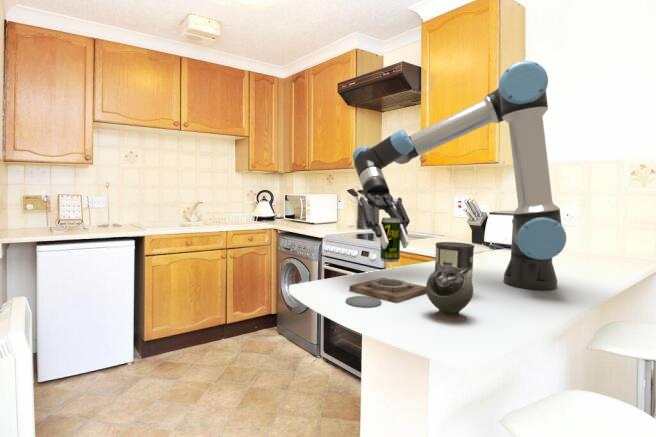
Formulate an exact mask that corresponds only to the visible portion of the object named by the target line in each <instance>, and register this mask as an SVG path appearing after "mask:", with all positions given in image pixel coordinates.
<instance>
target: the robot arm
mask: <svg viewBox="0 0 656 437" xmlns="http://www.w3.org/2000/svg"><path fill="white" fill-rule="evenodd" d="M548 77H549V76H548V73H547V71H546V69H545V68H544V67H543V66H542V65H541V64H539V63H538V62H535V61H531V60H522V61H518V62H515V63H513V64H511V65H510V66H509V67H507V69H506V70H505V71H504V72H503V73H502V75H501V76H500V78H499V80H498V88H496V89H495V90H493V91H492V92H490V93H488V94H486V95H485V96H484V98H483V100H481V101H479V102H477V103H474V104H472V105H471V106H469V107H467V108H464V109H462V110H460V111H458V112H456V113H454V114H452V115H449V116H447V117H446V118H443V119H441V120H440V121H436V122H435V123H433V124H431V125H428V126H427V127H425V128H422V129H421V130H418V131H417V132H414V133H412V134H411V135H408V133H407V132H406V131H405V129H400V130H398V131H396V132H393V133H392V134H391V135H389V136H388V137H386V138H385V139H383V140H382V141H380V142H379V143H377V144H376V145H374V146H372V147H371V146H369V145H364V146H363V145H362V146H359V147H358V148H356V149H355V150H354V151H353V154H352V159H353V160H352V161H353V166H354V168H355V171H356V174H357V176H358V179H359V182H360V185H361V188H362V192H363V195H364V197H363V196H360V197H359V200H358V202H357V205H358V206H359V207H360V209H361V214H362V216H363V220H364V223H365V227H366V228H368V229H369V228H371V231H372V232H374V234H375V237H376V238H379V240H380V245H381V244H382V247H383V249H386V247H387V245H388V243H389V242H388V239H387V236H386V233H385V231H384V228H383V225H382V224H381V223H380V210H382V211H384V212H385V214H388V216H389V218H400V222H401V228H400V244H401V247H402V248H403V249H407V247H408V245H409V244H410V241H409V238H408V233H409V232H408V230H407V227H408V226H409V224H410V222H411V220H410V218H409V215H408V213H407V211H406V210H405V207H404V205H403V199H402V198H401V197H398V198H394V197H393V196H392V195H391V192H390V188H389V186H388V183H387V181H386V178H385V176H384V174H383V170H382V169H384V168H385V167H387V166H389V165H391V164H392V163H397V164H398V165H405V164H407V163H409V162H410V161H412V160H413V159H415V158H417V157H419V156H421V155H422V154H425V153H427V152H430V151H432V150H434V149H436V148H439V147H441V146H443V145H445V144H447V143H450V142H452V141H454V140H457V139H458V138H460V137H463V136H464V135H467V134H469V133H473V131H476V130H478V129H480V128H482V127H485V126H487V125H489V124H491V123H494V124H499V123H501V122H504V121H505V122H506V123H508V130H509V137H510V147H511V155H512V156H511V157H512V165H513V172H514V173H513V174H514V181H515V188H516V189H515V190H516V198H517V208H516V209H515V210H514V211H513V214H512V215H513V217H512V220H511V222H512V229H511V230H512V231H511V248H510V259H509V261H508V264H507V267H506V268H505V269H506V270H505V271H504V274H503V283H505V284H506V285H509V286H511V287H512V286H513V287H516V288H522V289H528V290H540V291H546V290H547V291H548V290H549V291H550V290H555V289H558V278H557V275H556V274H557V273H556V272H555V268H554V267H555V266H554V265H553V264H554V263H553V258H555V257H556V256H558V255H560V253H561V252H562V251H563V250H564V249H565V247H566V244H567V233H566V231H565V228H564V226H563V225H562V224H563V223H562V218H561V217H562V216H561V210H560V207H559V206H557V205H556V204H555V203H554V202H553V197H552V187H551V186H552V185H551V178H550V168H549V160H548V153H547V144H546V134H545V127H544V125H545V124H544V119H543V118H544V117H543V116H544V115H545V114H546V112H547V111H548V110H549V106H548V105H549V104H548V97H547V89H548V85H549V78H548ZM369 205H370V207H371V211H372V212H371V211H370V208H369ZM371 214H372V215H371Z"/></svg>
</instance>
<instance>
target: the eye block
mask: <svg viewBox="0 0 656 437" xmlns="http://www.w3.org/2000/svg"><path fill="white" fill-rule="evenodd" d="M348 290H349V292H352V293H357V294H360V295H363V296H368V297H374V298H377V299H379V300H383V301H386V302H387V301H388V302H391V303H395V304H396V303H398V304H399V303H401V302H404V301H407V300H410V299H413V298H416V297H419V296H423V295H425V294H426V295H427V293H426V285H421V284H415V283H411V282H407V281H405V280H401V279H395V278H387V277H381V278H376V279H371V280H368V281H364V282H359V283H356V284H351V285H349V289H348Z"/></svg>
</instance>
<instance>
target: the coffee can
mask: <svg viewBox="0 0 656 437" xmlns="http://www.w3.org/2000/svg"><path fill="white" fill-rule="evenodd" d="M474 248H475V245H474V244H472V243H464V242H455V241H440V242H439V241H438V242H436V243H435V259H434V260H435V262H434V263H435V264H434V266H435V265H436V263H438V264H441V266H443V267H456V268H459V269H461V270H462V269H463V268H464V267H468V268H469V271H468V273H466V274H467V275H468V276H469V278H470V279H471V281H472V282H473V270H474V269H473V267H474V250H475V249H474Z"/></svg>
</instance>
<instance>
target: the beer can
mask: <svg viewBox="0 0 656 437" xmlns="http://www.w3.org/2000/svg"><path fill="white" fill-rule="evenodd" d="M380 224H382V225H383V228H384V231H385V233H386V236H387V239H388V242H389V243H388V245H387V247H386V249H383V247H382V244H381V243H380V251H379V252H380V253H379V254H380V255H379V256H380V260H381V261H382V262H384V263H386V262H387V263H398V262H399V261H400V259H401V257H400V256H401V254H400V253H401V241H400V228H401V222H400V218H391V217H381V221H380Z"/></svg>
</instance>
